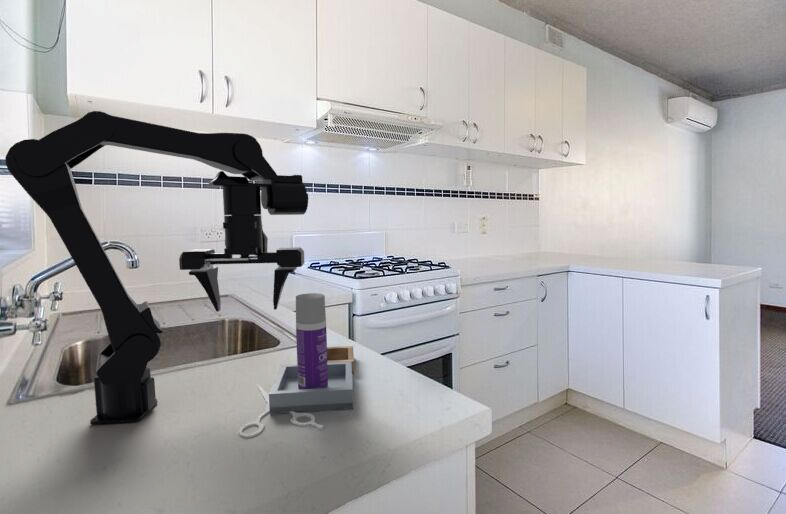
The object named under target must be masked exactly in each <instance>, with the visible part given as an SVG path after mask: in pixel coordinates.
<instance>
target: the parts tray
mask: <svg viewBox="0 0 786 514" xmlns="http://www.w3.org/2000/svg"><path fill="white" fill-rule="evenodd" d="M278 369H279V370H278V371H277V373H276V376H275V379H274V381H273V384H272V386H271V388H270V391H269V393H268V394H269V409H270V413H269V414H270V415H276V414H279V415H280V414H290V411H294V412H297V413H309V412H311V413H312V412H326V411H341V410H342V411H343V410H353V409H354V396H353V395H354V393H353V392H354V391H353V390H354V389H353V375H352V366H351V362H332V363H327V369H328V388H320V389H302V390H298V368H297V363H294V364H293V363H292V364H280V367H279V368H278Z"/></svg>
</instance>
